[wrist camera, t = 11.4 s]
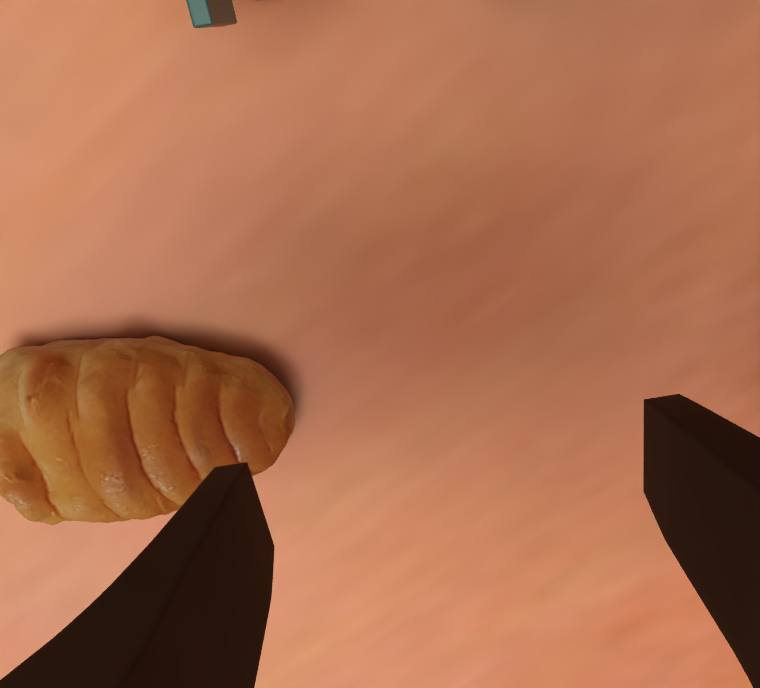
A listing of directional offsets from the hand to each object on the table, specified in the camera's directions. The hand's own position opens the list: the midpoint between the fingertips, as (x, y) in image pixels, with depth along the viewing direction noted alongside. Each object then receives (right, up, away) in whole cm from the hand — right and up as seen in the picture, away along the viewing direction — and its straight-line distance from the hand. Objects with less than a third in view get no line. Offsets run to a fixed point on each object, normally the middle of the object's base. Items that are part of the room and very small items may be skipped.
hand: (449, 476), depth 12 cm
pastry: (-10, 0, +11) cm, 15 cm away
